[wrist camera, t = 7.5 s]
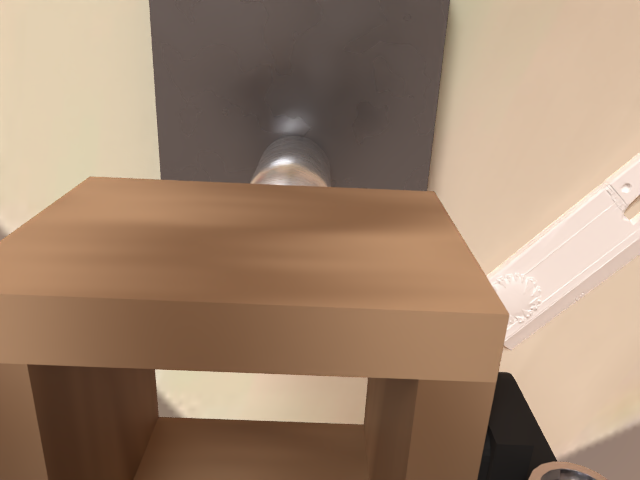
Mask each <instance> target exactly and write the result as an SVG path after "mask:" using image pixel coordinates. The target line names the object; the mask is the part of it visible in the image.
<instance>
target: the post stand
mask: <svg viewBox="0 0 640 480" xmlns="http://www.w3.org/2000/svg"><path fill="white" fill-rule="evenodd" d="M449 3H450V0H149V7H150V22H151V37H152V52H153V67H154V82H155V97H156V112H157V127H158V142H159V157H160V172H161V180H179V181H202V182H225V183H248V184H271V185H295V186H318V187H341V188H364V189H388V190H411V191H427V184H428V176H429V168H430V159H431V151H432V143H433V135H434V126H435V118H436V110H437V102H438V93H439V85H440V77H441V69H442V60H443V52H444V44H445V36H446V27H447V19H448V11H449Z"/></svg>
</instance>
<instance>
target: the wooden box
mask: <svg viewBox="0 0 640 480" xmlns="http://www.w3.org/2000/svg"><path fill="white" fill-rule="evenodd" d="M509 315H510V314H509V313H508V311H507V309H506V308H505V306H504V304H503V303H502V301H501V300H500V298H499V296H498V295H497V293H496V291H495V290H494V288H493V287H492V285H491V283H490V282H489V280H488V278H487V277H486V275H485V273H484V272H483V270H482V269H481V267H480V265H479V264H478V262H477V260H476V259H475V257H474V256H473V254H472V252H471V251H470V249H469V247H468V246H467V244H466V243H465V241H464V239H463V238H462V236H461V234H460V233H459V231H458V229H457V228H456V226H455V225H454V223H453V221H452V220H451V218H450V216H449V215H448V213H447V212H446V210H445V208H444V207H443V205H442V203H441V202H440V200H439V198H438V197H437V195H436V194H435V192H434V191H411V190H388V189H364V188H341V187H318V186H295V185H271V184H248V183H225V182H202V181H179V180H155V179H132V178H109V177H89V178H87V179H86V180H85V181H83V182H82V183H80V184H79V185H78V186H76V187H75V188H73V189H72V190H71V191H69V192H68V193H66V194H65V195H64V196H62V197H61V198H59V199H58V200H57V201H55V202H54V203H53V204H51V205H50V206H48V207H47V208H46V209H44V210H43V211H41V212H40V213H39V214H37V215H36V216H34V217H33V218H32V219H30V220H29V221H27V222H26V223H25V224H23V225H22V226H21V227H19V228H18V229H16V230H15V231H14V232H12V233H11V234H9V235H8V236H7V237H5V238H4V239H2V240H1V241H0V480H477V478H478V473H479V468H480V463H481V458H482V453H483V448H484V443H485V438H486V433H487V427H488V422H489V417H490V412H491V407H492V402H493V397H494V392H495V387H496V382H497V376H498V371H499V366H500V361H501V356H502V351H503V346H504V341H505V336H506V331H507V325H508V320H509ZM155 369H162V370H188V371H213V372H239V373H265V374H291V375H316V376H342V377H368V385H367V396H366V407H365V418H364V425H358V424H331V423H305V422H278V421H252V420H225V419H199V418H172V417H170V418H169V417H159V416H158V402H157V390H156V378H155Z"/></svg>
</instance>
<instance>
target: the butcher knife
mask: <svg viewBox="0 0 640 480" xmlns="http://www.w3.org/2000/svg"><path fill="white" fill-rule="evenodd" d="M639 195H640V152H639V153H638V154H637V155H636V156H634V157H633V158H632V159H631V160H629V161H628V162H627V163H626V164H624V165H623V166H622V167H621V168H619V169H618V170H617V171H616V172H614V173H613V174H612V175H611V176H609V177H608V178H607V179H606V180H605V181H604V182H603V183H601V184H600V185H598V186H597V187H596V188H595V189H594V190H592V191H591V192H590V193H589V194H587V195H586V196H585V197H584V198H582V199H581V200H580V201H579V202H577V203H576V204H575V205H574V206H572V207H571V208H570V209H569V210H567V211H566V212H565V213H564V214H562V215H561V216H560V217H559V218H558V219H556V220H555V221H554V222H552V223H551V224H550V225H549V226H548V227H546V228H545V229H544V230H543V231H541V232H540V233H539V234H538V235H536V236H535V237H534V238H533V239H531V240H530V241H529V242H528V243H526V244H525V245H524V246H523V247H521V248H520V249H519V250H518V251H517V252H515V253H514V254H513V255H512V256H510V257H509V258H508V259H507V260H505V261H504V262H503V263H502V264H500V265H499V266H498V267H497V268H495V269H494V270H493V271H492V272H490V273H489V274H488V275H487V276H486V277H487V278H488V280H489V282H490V283H491V285H492V287H493V288H494V290H495V291H496V293H497V295H498V296H499V298H500V300H501V301H502V303H503V304H504V306H505V308H506V309H507V311H508V313H509V314H510V315H509V320H508V325H507V331H506V336H505V341H504V346H505V347H507V348H508V349H510V350H512V349H513V348H515V347H516V346H518V345H519V344H520V343H522V342H523V341H524V340H526V339H527V338H528V337H530V336H531V335H532V334H534V333H535V332H536V331H538V330H539V329H540V328H542V327H543V326H544V325H546V324H547V323H549V322H550V321H551V320H553V319H554V318H555V317H557V316H558V315H559V314H561V313H562V312H563V311H565V310H566V309H567V308H569V307H570V306H572V305H573V304H574V303H576V302H575V301H578V300H580V299H579V298H582V297H584V296H585V295H586V294H588V293H589V292H590V291H592V290H593V289H594V288H596V287H597V286H598V285H600V284H601V283H602V282H604V281H605V280H606V279H608V278H609V277H611V276H612V275H613V274H615V273H616V272H617V271H619V270H620V269H621V268H623V267H624V266H625V265H627V264H628V263H629V262H631V261H632V260H633V259H635V258H636V257H637V256H639V255H640V212H639V213H638V214H637V215H635V216H634V217H633V218H632V219H630V220H628V219H627V218H626V217H625V215H624V212H625V210H626V208H628V206H629V205H630V204H631V203H632V202H633V201H634V200H635V199H636V198H637V197H638V196H639Z"/></svg>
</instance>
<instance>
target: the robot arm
mask: <svg viewBox="0 0 640 480" xmlns="http://www.w3.org/2000/svg"><path fill="white" fill-rule="evenodd" d="M477 480H608V479H606V478H605V477H603V476H602V475H600V474H599V473H597V472H595V471H593V470H591V469H588V468H586V467H584V466H581V465H577V464H573V463H569V462H557V460H556V458H555V456H554V454H553V452H552V450H551V448H550V446H549V444H548V442H547V441H546V439H545V437H544V435H543V433H542V431H541V429H540V427H539V425H538V423H537V421H536V419H535V417H534V415H533V414H532V412H531V410H530V408H529V406H528V404H527V402H526V400H525V398H524V396H523V394H522V392H521V390H520V388H519V387H518V385H517V383H516V381H515V379H514V377H513V376H512V375H511V374H510V373H507V372H498V376H497V382H496V387H495V392H494V397H493V402H492V407H491V412H490V417H489V422H488V427H487V433H486V438H485V443H484V448H483V453H482V458H481V463H480V468H479V473H478V478H477Z"/></svg>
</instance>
